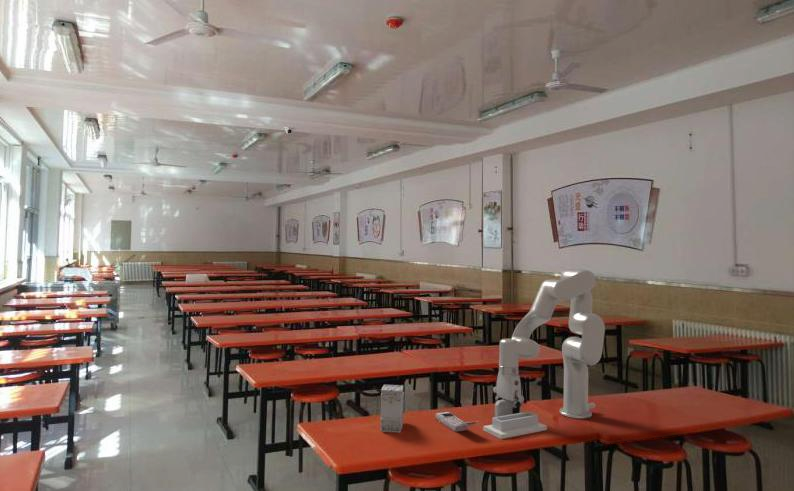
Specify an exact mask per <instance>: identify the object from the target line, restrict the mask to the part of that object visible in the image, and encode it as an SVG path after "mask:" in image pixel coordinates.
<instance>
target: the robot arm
mask: <svg viewBox="0 0 794 491" xmlns="http://www.w3.org/2000/svg"><path fill="white" fill-rule="evenodd" d="M559 276H560V279H554V278H550V279H546V280H543V282H542V283H541V285H540V287H539V289H538V291H537V294H536V296H535V298H534V300H533V302H532V306H531V308H530V310H529V311H528V312H527V313H526V315H524V317H522V319H521V320H520V321H519V322H518V323H517V325H516V327H515V328H514V331H513V333H512V335H511V338H502V339H500V341H499V344H498V345H499V347H498V348H499V351H498V354H499V355H498V356H499V357H498V372H497V373H498V374H497V378H496V386H494V387H492V390H493V395H494V397H495V398H494V401H495V403H496V402H497V401H498V400H505V399H506V400H508V401H511V402H512V404H513V406H514V407H513V408H512V414H517V413H520V407H521V408H522V405H523V404H524V401H525V398H524V396H523V395H522V387H521V385H522V384H521V383H522V382H521V378H520V375H519V372H520V371H519V358H521V359H526V360H527V359H530V360H531V359H534V358H536V357H538V356H539V355H540V352H541V347H540V345H539V344H538V342H536V341H535V340H533V339H530V337H531V335H532V333H533V332H534V330H536V329H537V328H538V327H540V326H541V325H544V324H546V323H548V322H549V321H550V320H551V318H552V316H553V313H554V311H555V308H556V306H557V304H558V302H568V301H570V309H569V316H568V328H569V330H570V331H571V333H574V334H577V335H580V336H581V337H577V336H571V337H567V338H566V339H564V341H563V342H562V345H561V354H562V359H563V406H562V407H560V408H559V413H560V414H561V415H562V416H565V417H567V418H572V419H578V420H579V419H580V420H581V419H590V418H591V417H592V416H593V415H592V414H593V413H592V411H590V410H591V409H594V408H596V404H595V403H594V402H589V367H588V366H593V365H596V364H598V363H599V362H600V360H601V358H602V354H603V349H604V348H603V347H604V341H605V333H606V332H605V331H606V327H605V323H604V320H603V318H602V317H601V316H600V315H598V314H596V313H593V303H594V302H593V301H594V300H593V295H592V292H591V290H592V289H593V288H594V287H595V285H596V282H597V280H596V276H595V274H594V273H593V272H592V271H591V270H588V269H582V268H581V269H578V268H567V269H564V270H563V271H562V272H561V273H560V275H559ZM515 401H516V403H515Z"/></svg>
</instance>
